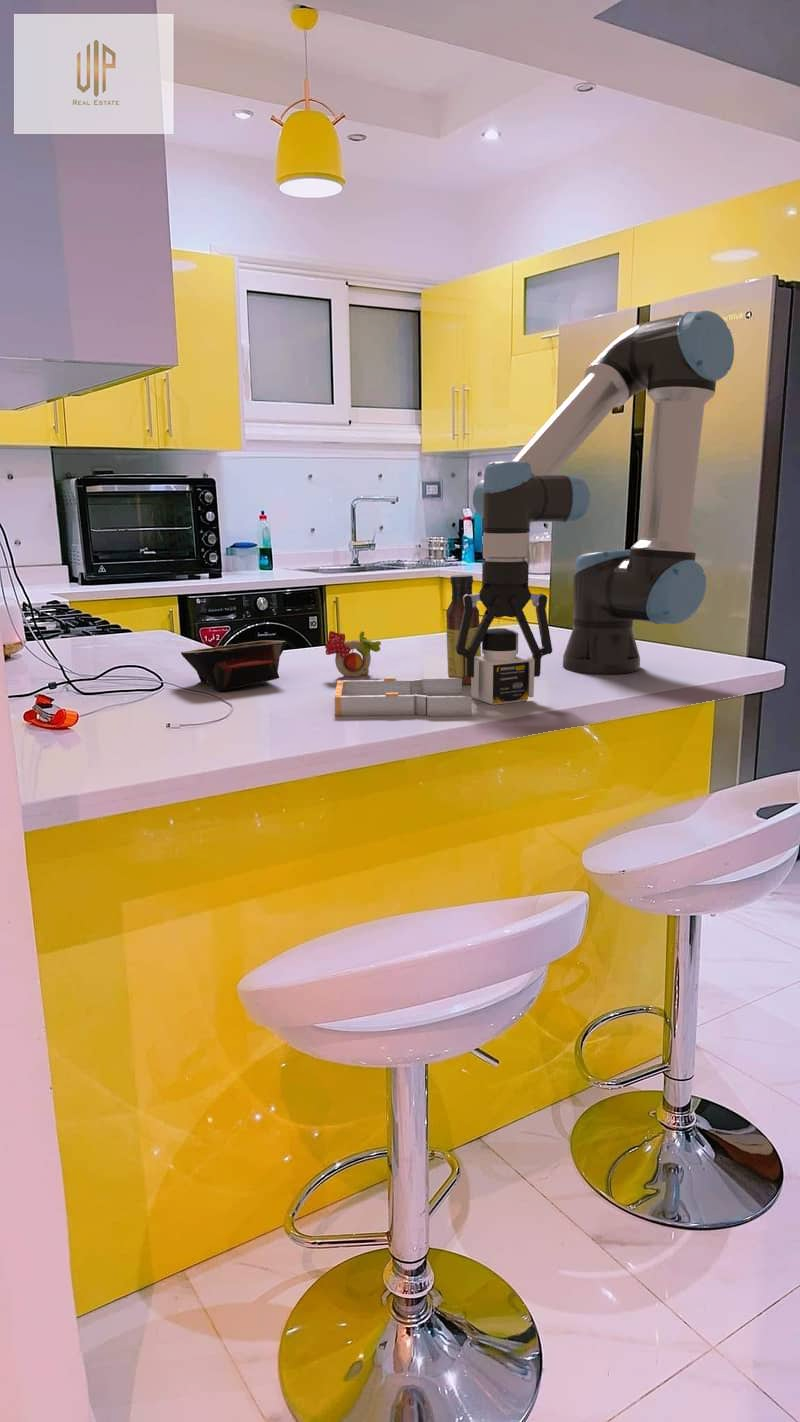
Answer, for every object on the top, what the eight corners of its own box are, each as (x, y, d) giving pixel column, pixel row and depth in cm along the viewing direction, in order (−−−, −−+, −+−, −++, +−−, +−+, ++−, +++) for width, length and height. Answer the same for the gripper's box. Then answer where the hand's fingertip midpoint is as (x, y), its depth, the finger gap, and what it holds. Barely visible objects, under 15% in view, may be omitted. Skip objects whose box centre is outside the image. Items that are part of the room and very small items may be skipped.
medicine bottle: (493, 705, 151) (494, 633, 149) (470, 697, 158) (470, 628, 155) (528, 701, 155) (530, 630, 152) (505, 693, 161) (506, 625, 158)
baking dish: (186, 695, 173) (173, 644, 170) (272, 669, 181) (261, 620, 178) (212, 710, 161) (199, 655, 158) (302, 681, 169) (292, 629, 166)
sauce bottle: (481, 679, 174) (482, 573, 169) (481, 686, 168) (482, 576, 163) (446, 679, 174) (447, 573, 170) (445, 685, 168) (445, 576, 164)
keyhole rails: (461, 694, 161) (461, 675, 160) (471, 715, 144) (471, 694, 144) (338, 696, 160) (337, 676, 159) (334, 717, 144) (334, 696, 143)
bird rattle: (385, 677, 177) (385, 630, 175) (337, 683, 171) (335, 635, 169) (367, 672, 182) (366, 626, 180) (319, 679, 176) (318, 631, 174)
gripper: (565, 558, 153) (561, 690, 158) (438, 558, 153) (437, 692, 158) (575, 560, 146) (570, 699, 151) (442, 561, 145) (441, 701, 150)
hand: (502, 695), depth 154 cm, fingers closed on medicine bottle, 8 cm apart
